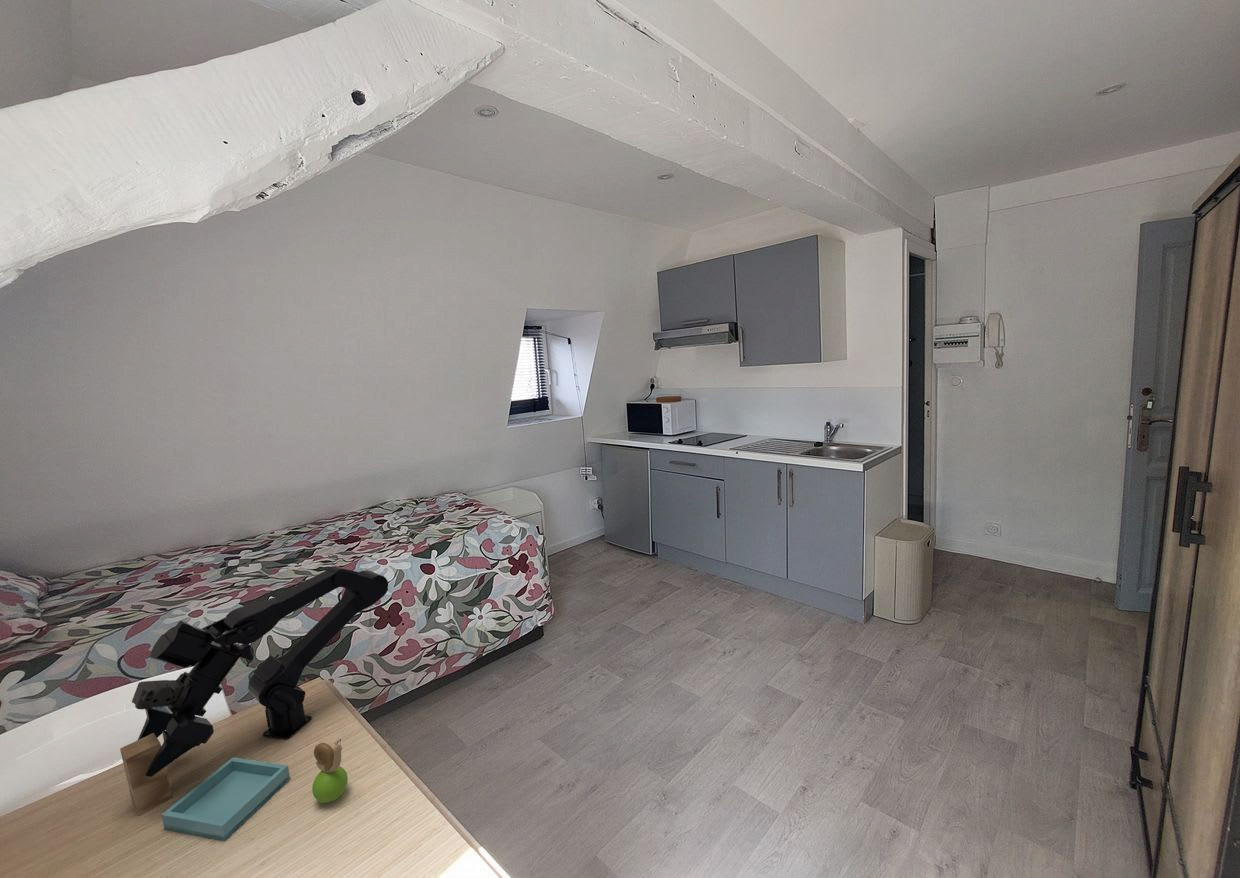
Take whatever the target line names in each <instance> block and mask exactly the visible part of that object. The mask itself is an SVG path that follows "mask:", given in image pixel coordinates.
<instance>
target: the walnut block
mask: <svg viewBox="0 0 1240 878" xmlns="http://www.w3.org/2000/svg"><path fill="white" fill-rule="evenodd" d="M161 746H162V744H161V742H160V740H159V739H158V738H157V737H156V736H155V734H154V733H152V734H150V735H148V736H146V737H144V738H142V739H140V740H138V739H137V740H134V741H133V742H131V743H129V744H126V745H124V746H123V747H121V748H119V751H120V754H121V760H122V764H123V769H124V772H125V776H126V782H127V786H128V789H129V790H128V791H129V793H130V798H131V802H132V805H133V808H134V809H135V811H136V814H137V815H138V816H141V815H144V814H145V813H147V812H148V811H151V810H152V809H155V808H156V807H158V806H159V805H162V804H163V803H166V802H167V801H169V800H171V799H173V795H172V791H171V786H170V785H171V784H170V781H169V776H168V772H167V768H166V767H167V766H166V767H164V768H163V769H162V770H160V771H159V772H158V773H156V774H155V775H153V776H152V777H149V776H146V775H145V774H146V772H147V770H148V768H149V766H150V764H151V763H152V761H153V759H154V758H155V756H156V754H157V753H158V751H159V749H160V748H161Z"/></svg>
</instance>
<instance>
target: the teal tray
mask: <svg viewBox="0 0 1240 878" xmlns="http://www.w3.org/2000/svg"><path fill="white" fill-rule="evenodd" d="M290 780H291V777H290V770H289V765H287V764H281V763H279V764H278V763H273V762H267V761H266V762H265V761H261V760H260V761H259V760H254V759H246V758H240V757H234V756H233V757H231V758H230V759H229V760H227V761H226V762H225V763H223V765H221V766H219V768H217V770H215V771H213V773H212V774H210V775H209V776H208V777H206V778H205V779H204V780H202V781H201V782H200V783H199V784H197V785H196V786H195V787H194V788H193V789H192V790H190V791H189V792H188V793H186V794H184V796H183V797H181V798H180V799H179V800H177V802H174V804H173V805H171V806H170V807H169V808H167V810H165V811H164V812H163V813H161V821H162V825H163V829H164V830H167V831H170V832H171V831H172V832H176V833H181V834H186V835H191V836H196V837H201V838H206V839H207V838H208V839H212V840H218V841H221V842H222V841H223V842H226V841H227V840H228V839H229V838H230V837H231V836H232V835H233V834H234V833H235V832H236V831H237V830H239V828H241V826H243V825H244V824H245V823H246V821H248V820H249V819H250V818H251V817H252V816H253V815H254V814H255V813H257V811H258V810H260V809H261V807H263V806H264V805H265V804H266V803H268V801H269V800H270V799H271V798H272V797H273V796H274V795H275V794H276V793H277V792H278V791H279V790H280V789H281V788H283V786H285V785H286V784H287V783H288V781H290Z"/></svg>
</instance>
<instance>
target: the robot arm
mask: <svg viewBox="0 0 1240 878" xmlns="http://www.w3.org/2000/svg"><path fill="white" fill-rule="evenodd" d="M338 588H343V589H344V591H343V594H342V596H341V598H340V600H339V601H338V602H337V603H336V604H335V605H334V606H333V607H332V608H331V609H330V610H329V611H328V612H327V613H325V615H324V616H323V617H322V618H321V619H320V620H318V622H317V623H316V624H314V626H313V627H312V628H311V629H310V630H309V631H308V632H307V633H306V634H305V635H304V636H302V638H301V639H300V640H299V641H297V643H296V644H295V645H294V646H293V647H291V649H290V650H288V651H287V652H286V653H285V654H283V655H282V656H279V657H277V658H276V657H274V656H273V655H270V656H269V657H267V658H266V659H265V661H264V662H262V664H261V665H260V666H259V667H258V668H256V669H254V670H253V671H252V673H253V675H252V676H251V677H250V679H249V681H248V686H247V690H248V693H249V694H250V695H251V696H252V697H253V698H254V699H255V700H256V701H257V702H258V703H259V704H260V705H261V706H263V707H265V708H264V709H265V710H264V713H265V717H266V723H267V729H266V730H265V731H264V732H263V733H262V736H263V737H268V738H275V739H283V740H288V739H290V738H291V737H293V736H294V735H295V734H296V733H297V732H298V731H299V730H300V729H301V728H303V727H304V726H305V725H306V724H307V723H309V722H310V721H312V715H307V714H305V709H304V708H305V707H304V701H305V697H306V691H305V690H304V689H303V688H301V687H300V686H299V685H298V683H299V681H300V679H301V676H302V674H303V672H304V670H305V668H306V667H307V666H308V665H309V664H310V663H311V662H312V661H313V660H314V658H315V657H316V656H317V655H318V654H319V653H321V651H322V650H324V648H325V647H326V646H327V645H328V644H330V642H331V641H332V640H333V639H335V637H336V636H337V635H338V634H339V633H340V632H341V630H343V629H344V628H345V626H347V625H348V623H349V622H350V621H351V620H353V618H354V617H355V616H356V615H357V614H359V613H360V612H362V611H364V610H366V609H368V608H370V607H372V606H374V605H375V604H376V603H377V602H379V601H380V600H382V598H383V597H384V596H386V595H387V593H388V591H389V581H388V579H387V577H385V576H384V575H382V574H379V573H377V572H374V571H372V570H368V569H367V570H360V571H355V570H352V569H347V568H343V567H341V566H339V565H332V566H329V567H328V568H326V570H324V571H322V572H320V573H318V574H316V575H315V576H313V577H310V578H308V579H307V580H305V581H303V582H301V583H299V584H297V585H295V586H293V587H291V588H290V589H287V590H285V591H284V592H280V593H279V594H278V595H275V596H274V597H272V598H271V597H270V598H268V599H265V600H260V601H255V602H251V603H249V604H246V605H243V606H239V607H237V608H235V609H232V610H231V611H230V612H229V613H228V614H226V615H225V617H223V618H221V619H219V620H217V621H215V622H213V623H211V624H209V625H206V626H204V627H202V628H200V627H196V626H195V625H191V624H190V623H188V622H186V621H184V620H180V621H178V622H177V624H176V625H175V626H172V627H171V628H169V629H168V630H167V631H166V632H164V633H163V634H161V635H160V637H159V638H158V639H157V640H156V642H155V643H154V645H153V647H152V649H151V651H150V655H149V656H150V658H151V659H153V660H155V661H160V662H162V663H167V664H170V665H174V666H177V667H180V668H184V669H187V668H189V667H190V666H191V667H192V668H191V669H190V671H189V672H187V671H184V672H183V673H180V674H179V676H178V677H177V679H175V680H174V679H173V680H172V679H170V680H169V679H160V680H147V681H145V680H143V681H139V682H138V683H137V686H136V690H135V692H134V694H133V697H132V699H131V703H132V704H134V707H135V709H137V710H145V714H146V719H145V721H144V725H143V726H142V729H141V732H139V736H138V739H137V740H140V739H142V738H144V737H146V736H148V735H150V734H152V733H154V734H155V736H156V737H157V739H158V738H159V737H160V736H161V735H162V738H163V742H162V744H161V748H160V749H159V751H158V753H157V754H156V756H155V758H154V759H153V761H152V763H151V764H150V766H149V768H148V770H147V772H146V774H145V775H146V776H149V777H152V776H153V775H155V774H156V773H158V772H159V771H160V770H162V769H163V768H164V767H168V765H170V764H171V763H172V762H174V761H176V760H177V759H178V758H179V757H181V756H183V755H184V754H186V753H187V752H189V751H190V750H192V749H194V748H195V747H199V746H201V745H204V744H207V743H208V742H209V740H210V739H211V738H212V737H213V734H214V732H215V731H214V726H213V724H212V723H211V721H210V720H208V718H205V717H204V716H205V714H206V712H207V710H206V708H205V707H206V705H207V704H208V703H209V701H210V700H211V698H212V697H213V695H215V694H218V695H219V694H220V693H221V692H222V690H223V687H222V686H221V684H222V683H223V682H224V680H225V679H226V678H227V676H228V674H229V673H230V672H231V671H232V669H233V668H234V666H235V664H237V662H238V661H239V660H240V658H242V659H244V660H248V661H252V660H253V658H254V656H253V653H252V645H250V644H253V643H255V642H256V641H259V640H260V639H261V638H262V637H264V636H265V635H266V634H268V633H269V632H270V631H272V630H273V629H274V628H275V627H276V626H277V625H278V624H279V622H280V621H281V620H282V619H284V618H285V617H287V616H289V615H290V614H292V613H294V612H296V611H299V610H300V609H302V608H303V607H305V606H307V605H309V604H310V603H312V602H315V601H316V600H318V599H320V598H321V597H323V596H326V595H327V594H329V593H330V592H332V591H334V590H336V589H338Z"/></svg>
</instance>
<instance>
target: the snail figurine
mask: <svg viewBox="0 0 1240 878" xmlns="http://www.w3.org/2000/svg"><path fill="white" fill-rule="evenodd" d="M341 741H342V738H341V737H339V738H338V739H337V740H336V741H334V746H333V747H332V746H331V745H330V744H328V743H326V742H320V743H318V744H317V745H315V747H314V749H313V755H314V759H315V760H316V762H315V765H316V766H317V768H318V769H319V770H320V772H318V774H317V775H316V776H315V778H314V780H313V782H312V787H311V792H312V796H313V797H314V799H315V801H317V802H319V803H323V804H326V803H327V804H329V803H331V802H334V801H335V800H337V799H339V797H341V796H342V795H343V794H344V792H345V791H346V788H347V785H348V781H349V777H348V773H347V771H346V770H345V768H344V767H342V766H341V762H342V751H343V750H342V749H343V746H342V745H341V743H342V742H341Z"/></svg>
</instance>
